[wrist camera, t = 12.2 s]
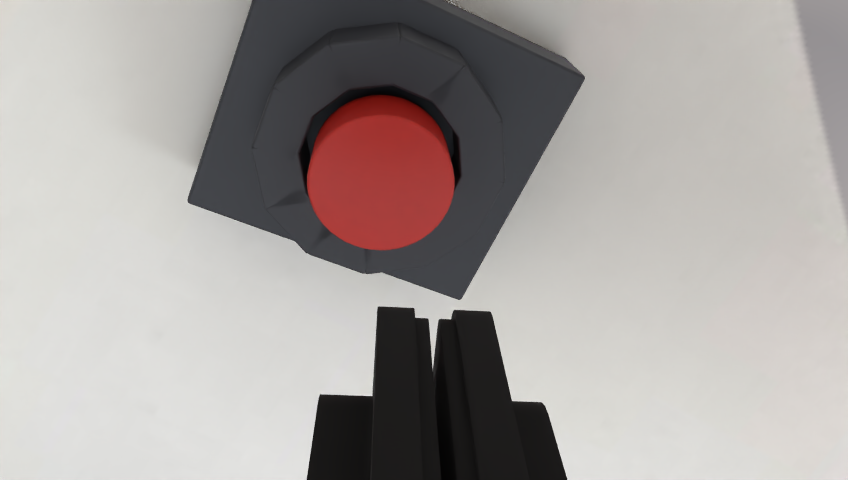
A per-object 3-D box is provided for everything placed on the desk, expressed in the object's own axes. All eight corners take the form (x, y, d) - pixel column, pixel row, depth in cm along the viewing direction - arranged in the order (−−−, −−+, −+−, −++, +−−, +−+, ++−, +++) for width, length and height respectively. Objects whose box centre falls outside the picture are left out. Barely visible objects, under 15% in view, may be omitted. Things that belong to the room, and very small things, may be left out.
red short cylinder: (471, 126, 18) (480, 150, 16) (414, 238, 19) (417, 270, 18) (342, 71, 17) (338, 91, 15) (293, 193, 18) (285, 222, 17)
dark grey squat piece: (567, 59, 21) (606, 95, 17) (454, 267, 24) (467, 334, 20) (285, -76, 18) (263, -65, 15) (202, 174, 22) (168, 231, 18)
